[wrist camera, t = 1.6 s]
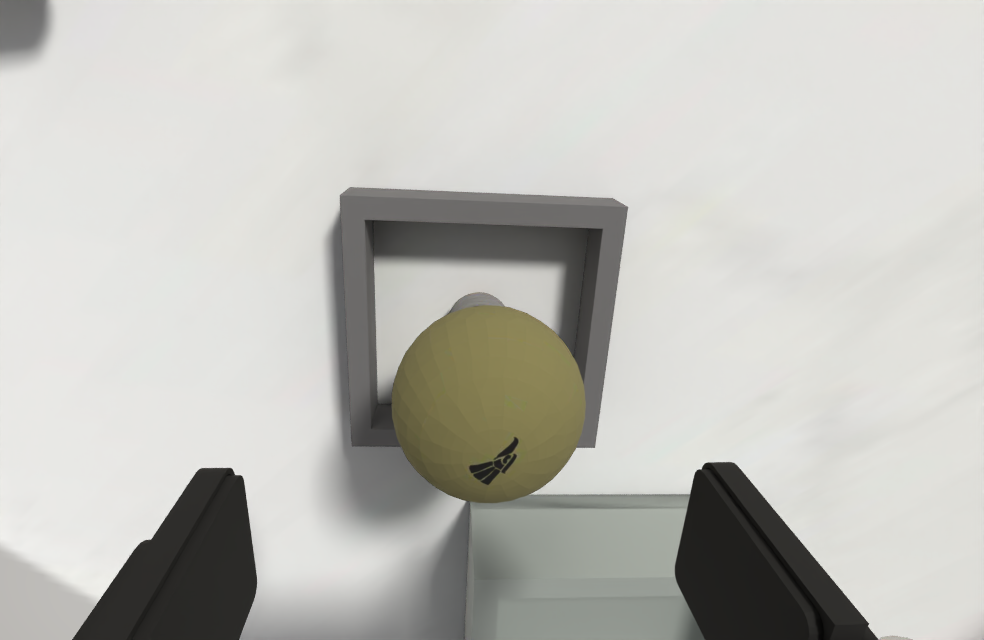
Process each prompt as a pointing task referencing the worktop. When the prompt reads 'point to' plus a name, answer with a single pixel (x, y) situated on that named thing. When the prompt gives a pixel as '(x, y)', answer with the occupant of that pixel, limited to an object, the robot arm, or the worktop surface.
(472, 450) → the light bulb
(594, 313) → the bulb holder
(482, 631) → the bin
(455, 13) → the worktop surface
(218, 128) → the worktop surface
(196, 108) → the worktop surface
